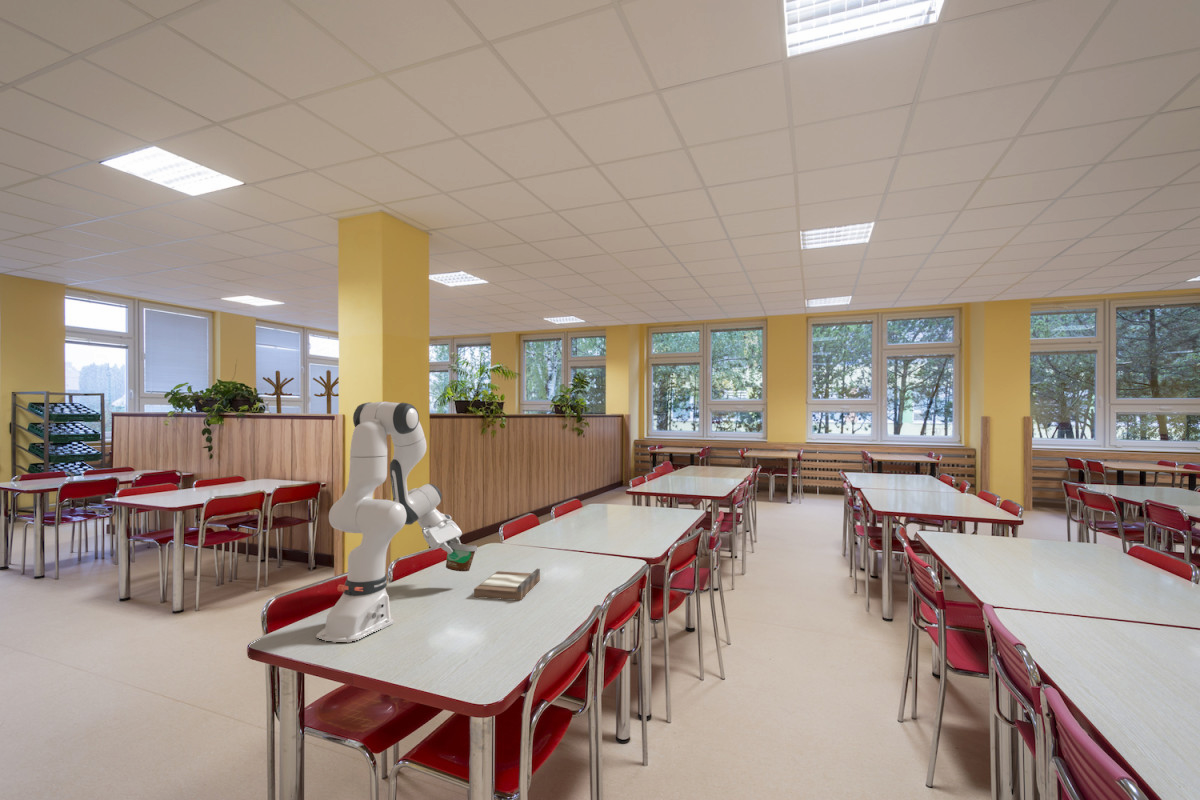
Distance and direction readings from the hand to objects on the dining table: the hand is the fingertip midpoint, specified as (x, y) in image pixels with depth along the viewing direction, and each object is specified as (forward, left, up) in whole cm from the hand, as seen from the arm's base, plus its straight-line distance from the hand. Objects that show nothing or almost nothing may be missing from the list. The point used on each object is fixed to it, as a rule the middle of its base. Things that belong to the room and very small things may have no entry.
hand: (456, 550), depth 197 cm
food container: (-1, 0, -7) cm, 7 cm away
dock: (+1, -21, -14) cm, 25 cm away
